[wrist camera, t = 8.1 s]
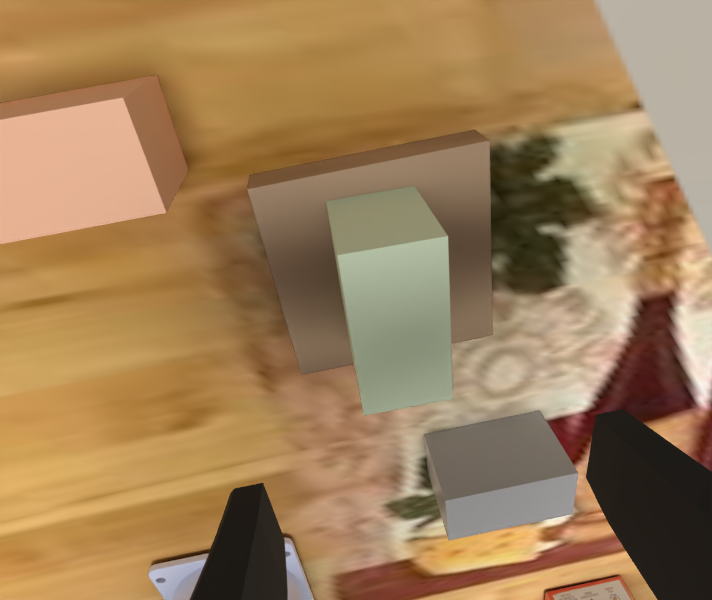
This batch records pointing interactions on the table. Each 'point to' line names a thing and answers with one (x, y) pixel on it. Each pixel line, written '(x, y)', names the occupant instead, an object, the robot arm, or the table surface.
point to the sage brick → (394, 297)
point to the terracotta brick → (87, 158)
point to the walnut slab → (363, 176)
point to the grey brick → (499, 474)
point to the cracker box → (593, 591)
